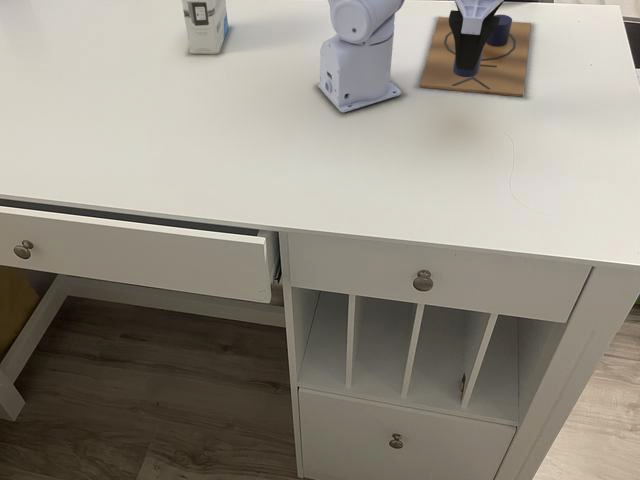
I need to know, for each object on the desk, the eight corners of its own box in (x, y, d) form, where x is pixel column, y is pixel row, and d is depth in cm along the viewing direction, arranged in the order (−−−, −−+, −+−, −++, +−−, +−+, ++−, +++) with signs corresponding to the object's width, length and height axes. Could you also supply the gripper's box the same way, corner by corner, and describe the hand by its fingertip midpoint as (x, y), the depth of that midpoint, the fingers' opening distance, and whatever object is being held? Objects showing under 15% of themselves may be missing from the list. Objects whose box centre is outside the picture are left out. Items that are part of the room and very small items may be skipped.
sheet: (522, 96, 92) (523, 93, 91) (419, 87, 95) (419, 84, 95) (530, 25, 103) (531, 22, 103) (438, 19, 107) (438, 16, 107)
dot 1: (461, 80, 83) (466, 55, 81) (447, 67, 85) (451, 43, 83) (483, 73, 84) (489, 48, 81) (469, 61, 86) (474, 36, 83)
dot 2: (493, 48, 99) (498, 27, 97) (480, 39, 101) (485, 17, 99) (511, 43, 100) (516, 21, 97) (498, 33, 102) (503, 12, 99)
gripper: (521, -21, 68) (494, 95, 78) (530, -78, 77) (505, 34, 87) (450, -25, 70) (433, 89, 80) (467, -80, 78) (450, 29, 89)
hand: (467, 60), depth 84 cm, fingers closed on dot 1, 3 cm apart
